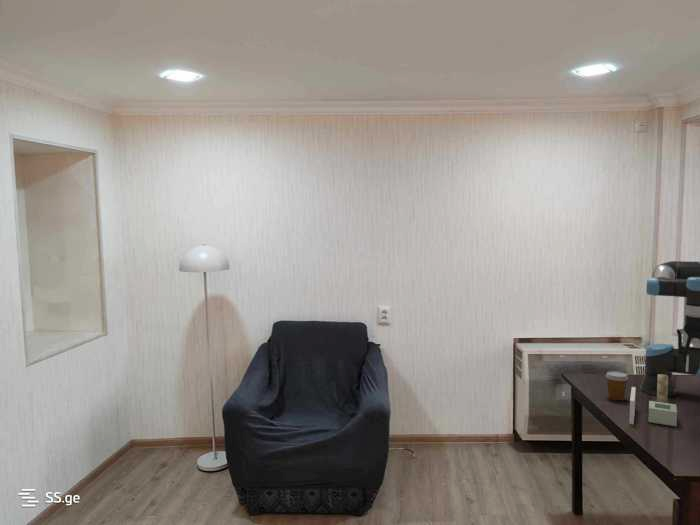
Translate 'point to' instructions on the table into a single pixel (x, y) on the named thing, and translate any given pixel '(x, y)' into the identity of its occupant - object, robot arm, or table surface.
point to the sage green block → (663, 413)
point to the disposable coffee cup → (616, 384)
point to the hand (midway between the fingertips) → (693, 371)
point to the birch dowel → (662, 388)
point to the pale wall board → (632, 405)
